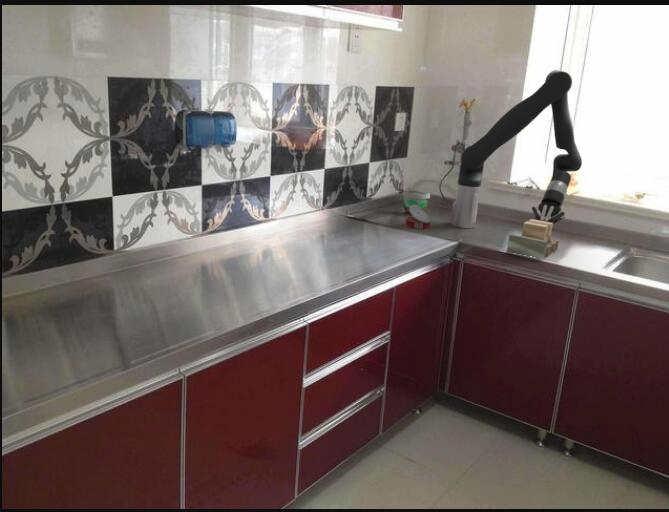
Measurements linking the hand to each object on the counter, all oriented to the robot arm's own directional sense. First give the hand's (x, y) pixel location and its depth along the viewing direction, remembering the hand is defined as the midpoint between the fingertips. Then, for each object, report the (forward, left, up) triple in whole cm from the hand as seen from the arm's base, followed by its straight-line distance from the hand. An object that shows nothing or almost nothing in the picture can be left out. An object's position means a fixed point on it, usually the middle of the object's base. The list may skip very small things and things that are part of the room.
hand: (541, 230), depth 241 cm
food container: (-58, +12, -7) cm, 60 cm away
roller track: (0, -7, -6) cm, 10 cm away
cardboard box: (0, -6, -3) cm, 6 cm away
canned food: (-47, -7, -7) cm, 48 cm away
